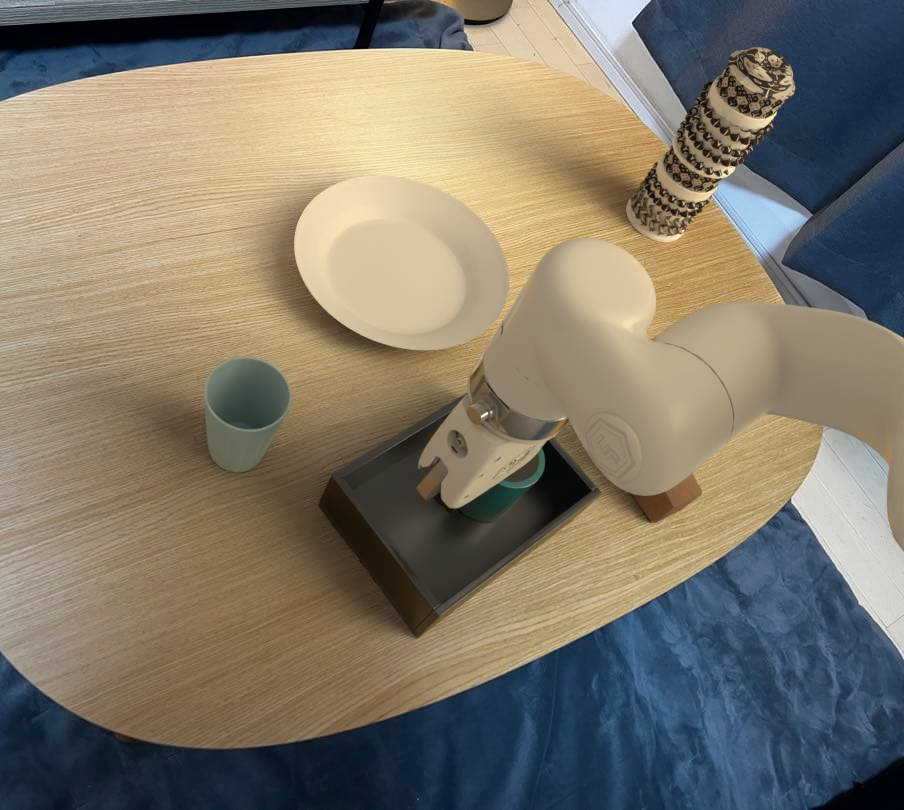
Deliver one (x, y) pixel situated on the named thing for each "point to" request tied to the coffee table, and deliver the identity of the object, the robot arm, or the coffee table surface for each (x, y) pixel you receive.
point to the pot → (505, 492)
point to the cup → (244, 410)
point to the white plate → (401, 262)
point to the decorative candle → (711, 142)
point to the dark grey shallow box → (442, 524)
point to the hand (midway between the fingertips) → (445, 495)
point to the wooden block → (669, 499)
